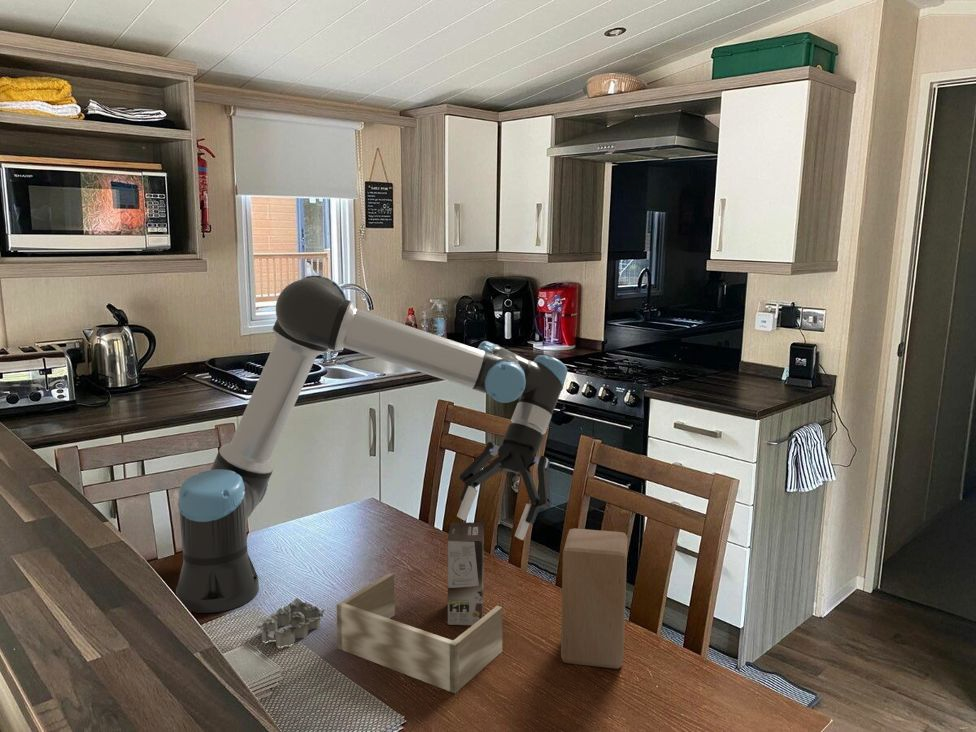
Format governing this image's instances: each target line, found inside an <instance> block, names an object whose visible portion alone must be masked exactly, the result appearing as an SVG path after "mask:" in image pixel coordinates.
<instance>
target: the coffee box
mask: <svg viewBox="0 0 976 732" xmlns="http://www.w3.org/2000/svg"><path fill="white" fill-rule="evenodd" d="M484 528H485V527H484V522H475V521H473V522H451V523H450V525H449V529H448V536H447V540H446V541H447V625H450V626H454V625H455V626H457V625H458V626H472V625H474V624H475V623H476V622H477V621H479V620H480V619H481V618H482V617H483V612H484V611H483V610H484V601H485V600H484V596H485V595H484V592H485V591H484V589H485V588H484V587H485V585H484V584H485V583H484V582H485V579H484V577H485V564H484V563H485V557H484V555H485V551H484V550H485V547H484V545H485V544H484V543H485V541H484V540H485V539H484V538H485V537H484V536H485V533H484Z"/></svg>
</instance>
